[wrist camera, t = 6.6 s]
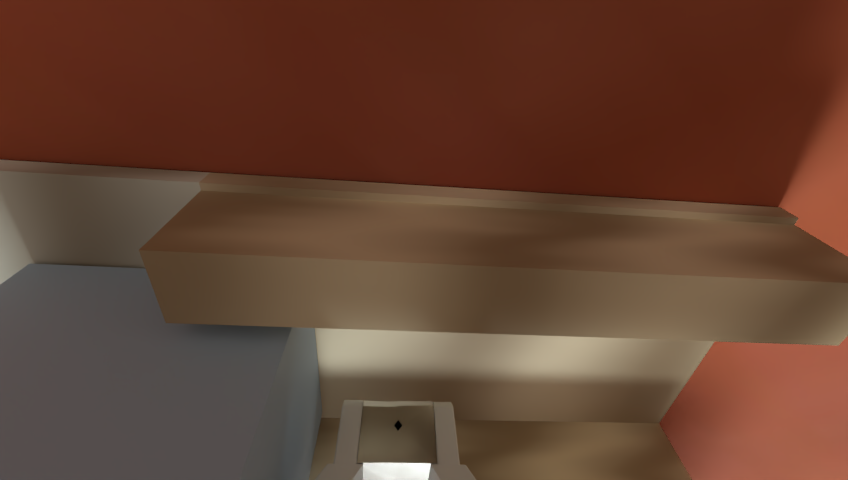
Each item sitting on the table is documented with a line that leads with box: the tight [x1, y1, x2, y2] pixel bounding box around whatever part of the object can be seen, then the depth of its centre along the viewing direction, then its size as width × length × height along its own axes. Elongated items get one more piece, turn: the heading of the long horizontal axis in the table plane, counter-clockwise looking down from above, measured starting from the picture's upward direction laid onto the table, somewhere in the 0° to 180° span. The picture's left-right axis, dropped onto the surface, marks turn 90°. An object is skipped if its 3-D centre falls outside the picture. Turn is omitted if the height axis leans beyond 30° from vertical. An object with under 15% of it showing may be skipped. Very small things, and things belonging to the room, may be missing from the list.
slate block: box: [0, 264, 322, 480], centre depth 9 cm, size 7×6×6 cm
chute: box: [0, 160, 848, 480], centre depth 11 cm, size 23×11×3 cm, turn 85°
